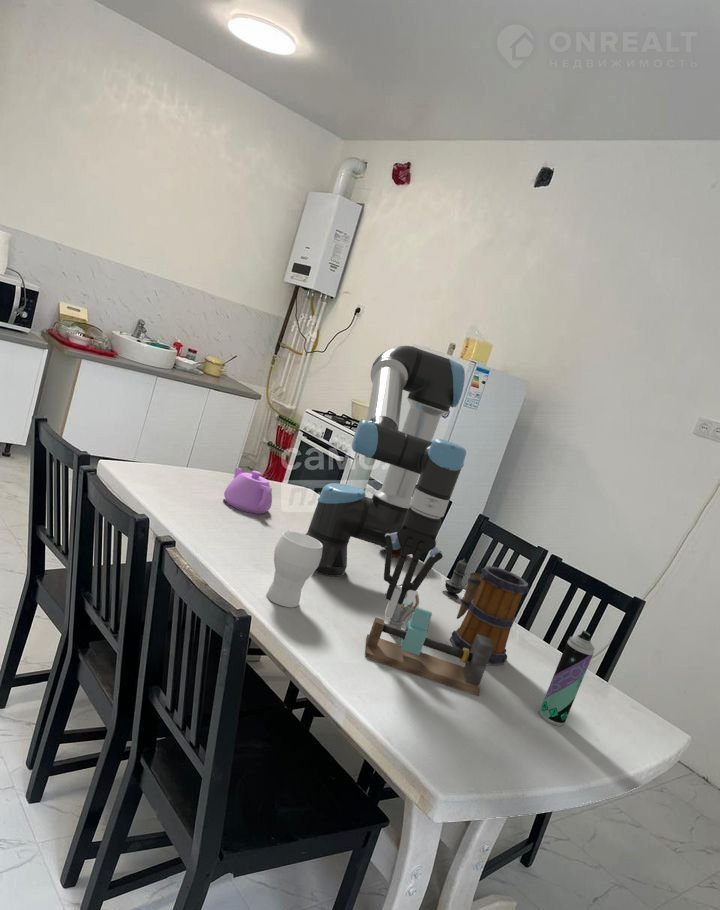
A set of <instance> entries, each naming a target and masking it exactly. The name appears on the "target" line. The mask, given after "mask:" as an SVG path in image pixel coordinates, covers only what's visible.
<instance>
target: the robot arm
mask: <svg viewBox="0 0 720 910" xmlns="http://www.w3.org/2000/svg"><path fill="white" fill-rule="evenodd" d="M465 375H466V373H465V368H464V366H463V365H462V363H459V362H457V361H455V360H452V359H450V358H447V357H444V356H441V355H437V354H436V353H433V352H429V351H427V350H423V349H421V348H418V347H415V346H412V345H399V346H393V347H391V348H389V349H387V350H385V351H383V352H382V353H380V355H378V356H377V358H375V360H374V362H373V363H372V366H371V370H370V380H371V383H372V387H371V393H370V400H369V405H368V409H367V416H366V419H361V420H360V421H359V422H358V425H357V427H356V429H355V432H354V436H353V439H352V443H351V450H352V451H353V452H355V453H357V454H359V455H361V456H364V457H366V458H369V459H372V460H377V461H380V462H383V463H385V464H388V465H389V467H388V469H387V471H386V474H385V478H384V479H383V480H384V481H383V482H382V485H381V488H380V489H378V490H375V491H374V492H373V493H372V494H373V495H372V497H367V496H366V491H365V490H364V489H362V488H360V487H357V486H354V485H350V484H345V483H336V482H335V483H328V484H326V485H324V486H323V488H322V490H321V491H320V492H321V493H320V495H319V497H318V498H317V503H316V506H315V509H314V511H313V515H312V517H311V520H310V523H309V527H308V530H307V532H306V533H305V534H306V535H308V536H311V537H313V538H315V539H317V540H318V541H320V542H321V543H322V545H323V549H322V557H321V560H320V563H319V566H318V567H317V569H316V570H315V572H314V573H317V574H321V575H324V576H331V577H338V576H339V577H340V576H343V575H345V573H346V570H347V566H348V545H349V542H350V539H351V538H355V539H357V540H360V541H364V542H367V543H371V544H374V545H375V546H379V547H380V548H384V549H385V547H386V548H387V549H386V552H385V558H384V559H385V562H384V568H383V569H384V572H383V580H384V581H385V582H387V583H388V584H389V585H388V587H387V590H386V593H385V600H388V602H387V605H386V607H385V612H384V617H387V618H389V619H390V618H391V619H392V616H393V613H394V611H395V608H396V605H397V603H398V604H402V603H403V601H404V598H405V595H406V593H407V591H409V590H413V591H417V590H418V589H419V588H420V586H421V584H422V583H423V581H424V580H425V578H426V577H427V576H428V574H429V573H430V571H431V570H432V568H433V567H434V565H435V564H436V563H437V562H439V561H440V560H441V559H442V558H443V557H444V556H443V552H442V551H441V550H439V548H438V547H437V540H436V538H437V536H438V534H439V530H440V527H441V525H442V522H443V521H442V519H441V518H443V517H444V516H445V513H446V511H447V508H448V505H449V502H450V499H451V496H452V494H453V492H454V489H455V486H456V484H457V482H458V479H459V476H460V473H461V470H462V469H463V467H464V463H465V459H466V456H467V449H466V448H465V447H463V446H461V445H460V444H457V443H454V442H452V441H449V440H445V439H443V438H435V439H433V438H434V437H435V433H436V430H437V427H438V425H439V422H440V419H441V417H442V416H444V415H446V414H449V411H450V408H456V407H458V405H459V403H460V401H461V397H462V395H463V390H464V385H465V379H466V378H465V377H466V376H465ZM403 391H405V392H408V396H407V398H406V399H407V401H408V404H409V408H408V412H407V416H406V418H405V421H404V424H403V426H402V429H401V431H400V421H401V419H400V418H401V410H402V399H403ZM399 548H401V549H402V550H401V554H400V556H399V558H398V560H397V562H396V564H395V568H394V571H393V573H392V575H391V568H392V558H393V556H392V550H397V549H399ZM429 552H430V554H429V555H430V556H429V557H428V558H427V560H426V562H425V563H424V565H423V566H422V567H421V568H420V570H419V571H418V573H417V574H416V576H415V578H414V579H413V577H414V575H415V572H416V568H417V567H418V563H419V562H420V558H421V557H422V556H424V555H426V554H427V553H429ZM408 554H410V555H412V557H411V559H410V561H409V564H408V568H407V570H406V574H405V576H404V578H403V581H402V583H401V584H402V586H399V585H400V584H399V585H398V582H399V579H400V576H401V574H402V571H403V569H404V567H405V566H404V565H405V563H406V561H407V559H408V556H409V555H408Z"/></svg>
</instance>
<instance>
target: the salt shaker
mask: <svg viewBox="0 0 720 910" xmlns="http://www.w3.org/2000/svg"><path fill="white" fill-rule="evenodd" d="M467 567H468V563H467V562H466V558H463V559H461V560H458V561H457V563H456V567H455V569H453V574H452V577H451V578H450V579H445V584H444V585H445V586H444V587H445V590H442V591H441V592H442V594H443V595H444V596H446V597H448V598H450V599H453V600H460V596H459V594H460V593H462V592H463V590H465V587H464V586H463V585H462V580H463V578H464V576H465V575H466V573H465V572H466V569H467Z"/></svg>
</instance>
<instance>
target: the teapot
mask: <svg viewBox="0 0 720 910" xmlns="http://www.w3.org/2000/svg"><path fill="white" fill-rule="evenodd" d="M272 491H273V488H272V487H271V485H270V482H269V480H268V479H266V478H265V477H263V476H262V472H260V471H257V470H251V472H242V468H240V467H235V472H234V475H233V479H232V481H230V482H229V484H228V485H227V486H226V488H225V490H224V494H223V496H224V499H225V500H226V504H228V505H229V506H231V507H233V508H235V509H237V510H240V511H242V512H246V513H250V514H255V515H256V514H257V515H259V514H260V515H261V514H265V513H266V512H268V511H269V510H270V509H271V508H272V503H273V493H272Z"/></svg>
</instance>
